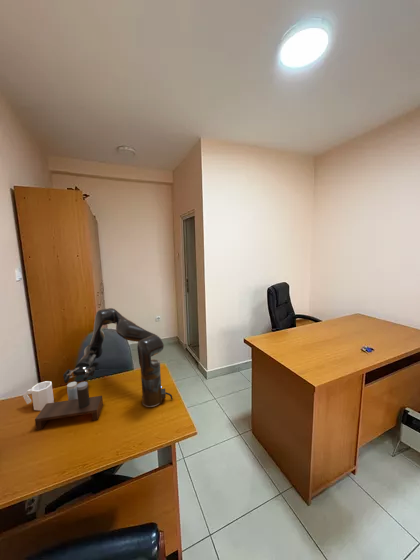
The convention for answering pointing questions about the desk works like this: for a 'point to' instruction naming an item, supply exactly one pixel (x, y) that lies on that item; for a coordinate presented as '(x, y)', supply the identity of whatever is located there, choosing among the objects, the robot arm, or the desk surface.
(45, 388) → the mug
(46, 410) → the desk shelf
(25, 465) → the desk surface
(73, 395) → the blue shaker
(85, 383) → the dark shaker
